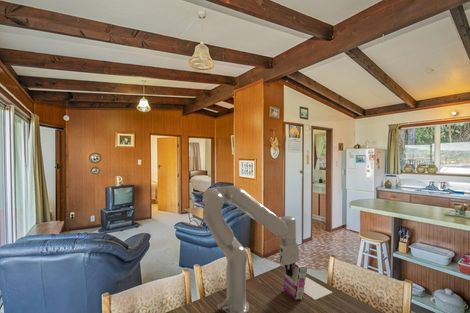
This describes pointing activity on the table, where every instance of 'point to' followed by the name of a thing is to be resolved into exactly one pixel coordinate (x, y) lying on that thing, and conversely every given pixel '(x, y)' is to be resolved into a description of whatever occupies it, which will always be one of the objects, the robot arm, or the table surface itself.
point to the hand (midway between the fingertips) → (289, 275)
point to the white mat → (315, 289)
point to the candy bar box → (296, 281)
